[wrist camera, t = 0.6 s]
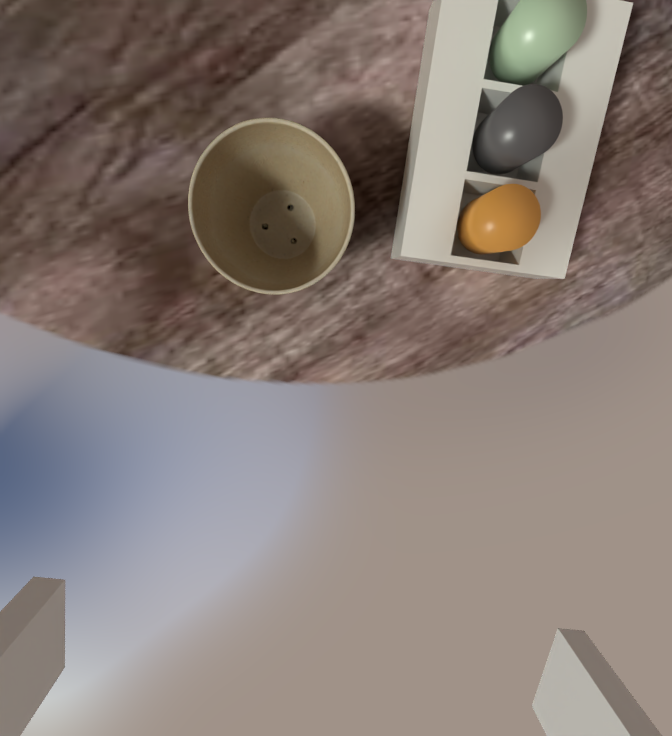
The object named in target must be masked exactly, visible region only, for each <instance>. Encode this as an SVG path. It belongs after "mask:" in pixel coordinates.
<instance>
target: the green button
mask: <svg viewBox="0 0 672 736" xmlns="http://www.w3.org/2000/svg"><path fill="white" fill-rule="evenodd" d="M586 18H587V3H586V0H520V1H519V2H518V4H517V5H516V7H515V8H514V9H513V11H512V12H511V14H510V15H509V16H508V18H507V19H506V20H505V22H504V23H503V25H502V26H501V27H500V29H499V30H498V32H497V33H496V35H495V36H494V38H493V40H492V43H491V46H490V51H489V62H490V67H491V70H492V72H493V74H494V76H495V77H496V78H497V80H498V81H499V82H504V83H510V84H516V85H522V86H524V85H528V84H531V83H532V82H534V81H535V80H536V79H537V78H538V77H539V76H540V75H541V74H542V73H544V72H545V71H546V70H547V69H548V68H549V67H550V66H551V65H552V64H553V63H554V62H555V61H557V60H558V59H559V58H560V57H561V56H562V55H563V54H564V53H565V52H566V51H567V50H569V49H570V48H571V47H572V46H573V45H574V44H575V43H576V42H577V40H578V39H579V37H580V36H581V34H582V32H583V29H584V27H585V23H586Z"/></svg>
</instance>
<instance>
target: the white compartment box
mask: <svg viewBox="0 0 672 736" xmlns="http://www.w3.org/2000/svg"><path fill="white" fill-rule="evenodd" d="M519 1H520V0H433V2H432V5H431V7H430V10H429V15H428V21H427V28H426V34H425V41H424V47H423V54H422V60H421V67H420V73H419V79H418V86H417V92H416V99H415V105H414V112H413V118H412V125H411V131H410V137H409V144H408V150H407V157H406V163H405V170H404V176H403V182H402V189H401V195H400V202H399V208H398V215H397V221H396V228H395V234H394V240H393V247H392V253H391V259H397V260H404V261H412V262H419V263H426V264H433V265H440V266H448V267H455V268H462V269H469V270H476V271H483V272H491V273H498V274H505V275H512V276H519V277H527V278H534V279H565V275H566V271H567V267H568V263H569V259H570V255H571V251H572V247H573V243H574V239H575V235H576V231H577V227H578V223H579V219H580V215H581V211H582V207H583V203H584V198H585V194H586V190H587V186H588V182H589V178H590V174H591V170H592V166H593V162H594V158H595V154H596V150H597V146H598V142H599V138H600V134H601V130H602V126H603V122H604V118H605V114H606V110H607V106H608V102H609V98H610V94H611V90H612V86H613V82H614V78H615V74H616V70H617V66H618V62H619V58H620V54H621V50H622V46H623V42H624V38H625V34H626V30H627V26H628V22H629V18H630V14H631V10H632V6H633V3H631V2H626V1H621V0H586V3H587V18H586V23H585V27H584V29H583V32H582V34H581V36H580V37H579V39H578V40H577V42H576V43H575V44H574V45H573V46H572V47H571V48H570V49H569V50H567V51H566V52H565V53H564V54H563V55H562V56H561V57H560V58H559V59H558V60H557V61H555V62H554V63H553V64H552V65H551V66H550V67H549V68H548V69H547V70H546V71H545V72H544V73H542V74H541V75H540V76H539V77H538V78H537V79H536V80H535V81H534V82H532V83H531V84H538V85H542V86H545V87H547V88H548V89H550V90H551V91H552V92H553V93H554V94H555V95H556V96H557V98H558V100H559V102H560V104H561V107H562V112H563V123H562V128H561V132H560V134H559V136H558V138H557V140H556V142H555V143H554V144H553V145H552V147H551V148H550V149H548V150H547V151H546V152H545V153H543V154H541V155H540V156H538V157H536V158H534V159H532V160H531V161H529V162H527V163H525V164H523V165H522V166H520V167H518V168H516V169H514V170H513V171H511V172H509V173H506V174H500V175H496V174H491V173H488V172H486V171H485V170H483V169H482V168H481V167H480V166H479V165H478V163H477V162H476V160H475V157H474V155H473V149H472V142H473V137H474V133H475V131H476V129H477V127H478V126H479V124H480V123H481V122H482V121H483V120H484V119H485V118H486V117H487V116H488V115H489V114H490V113H491V112H492V111H493V110H494V109H495V108H496V107H497V106H498V105H499V104H500V103H501V102H502V101H503V100H504V99H505V98H506V97H507V96H508V95H510V94H511V93H512V92H513V91H514V90H516V89H517V88H519V87H521V86H522V85H516V84H510V83H504V82H499V81H498V80H497V78H496V77H495V76H494V74H493V72H492V70H491V67H490V62H489V51H490V46H491V43H492V40H493V38H494V36H495V35H496V33H497V32H498V30H499V29H500V27H501V26H502V25H503V23H504V22H505V20H506V19H507V18H508V16H509V15H510V14H511V12H512V11H513V9H514V8H515V7H516V5H517V4H518V2H519ZM506 184H519V185H522V186H525V187H527V188H528V189H529V190H531V191H532V192H533V193H534V195H535V196H536V197H537V199H538V202H539V204H540V209H541V219H540V224H539V227H538V230H537V232H536V233H535V235H534V236H533V238H532V239H531V240H530V241H529V242H528V243H527V244H525V245H524V246H522V247H520V248H518V249H515V250H511V251H504V252H497V253H490V254H475V253H472V252H470V251H469V250H467V249H466V248H465V247H464V246H463V245H462V243H461V242H460V240H459V237H458V234H457V222H458V218H459V215H460V213H461V211H462V210H463V208H464V207H465V206H466V205H467V204H468V203H469V202H471V201H472V200H474V199H476V198H478V197H480V196H482V195H484V194H486V193H488V192H490V191H492V190H494V189H496V188H498V187H500V186H502V185H506Z"/></svg>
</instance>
